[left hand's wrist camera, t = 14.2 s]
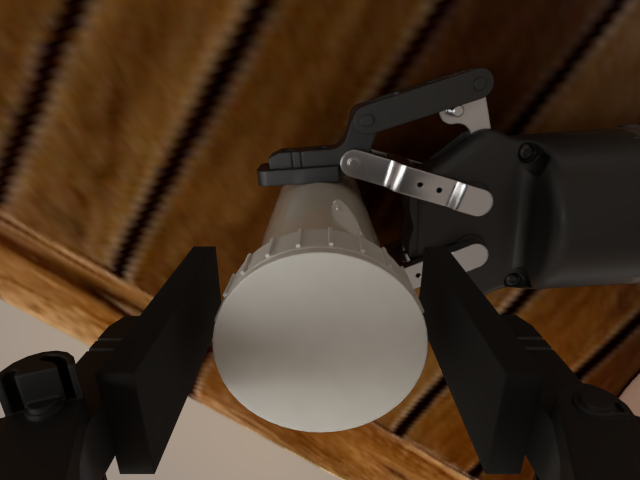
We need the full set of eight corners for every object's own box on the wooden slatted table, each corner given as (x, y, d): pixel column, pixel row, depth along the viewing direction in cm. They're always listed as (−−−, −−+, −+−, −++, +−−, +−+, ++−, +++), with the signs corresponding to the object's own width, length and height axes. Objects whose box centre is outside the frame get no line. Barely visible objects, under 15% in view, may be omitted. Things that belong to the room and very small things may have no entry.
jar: (268, 204, 26) (202, 357, 11) (308, 139, 25) (291, 221, 10) (330, 242, 27) (343, 428, 12) (373, 182, 26) (444, 314, 11)
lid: (317, 419, 14) (318, 464, 12) (184, 313, 12) (163, 348, 10) (455, 319, 12) (475, 354, 11) (322, 183, 11) (323, 200, 9)
